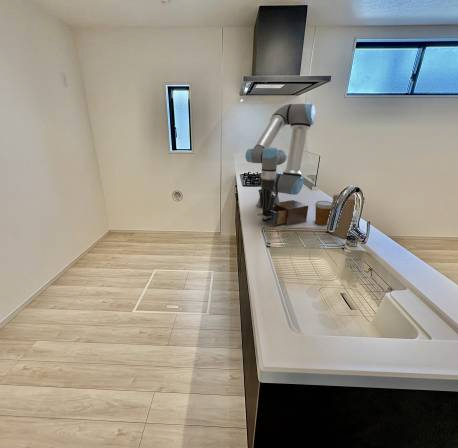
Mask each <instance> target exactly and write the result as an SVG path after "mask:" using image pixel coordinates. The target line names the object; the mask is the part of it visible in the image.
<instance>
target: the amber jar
mask: <svg viewBox="0 0 458 448" xmlns="http://www.w3.org/2000/svg"><path fill="white" fill-rule="evenodd" d="M314 206H315V214H314V215H315V216H314V217H315V219H314V223H315V224H316V225H319V226H326V225H328V223H329V218H330V216H329V215H330V211H331V207H332V202H331V201H328V200H317V201H316V202H315V203H314Z"/></svg>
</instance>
